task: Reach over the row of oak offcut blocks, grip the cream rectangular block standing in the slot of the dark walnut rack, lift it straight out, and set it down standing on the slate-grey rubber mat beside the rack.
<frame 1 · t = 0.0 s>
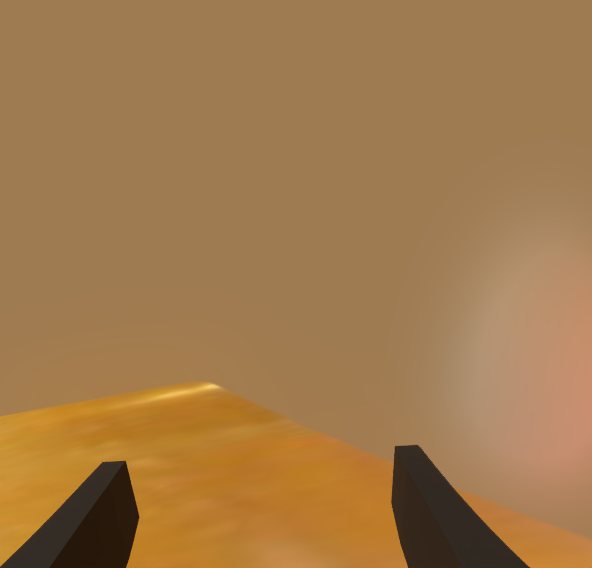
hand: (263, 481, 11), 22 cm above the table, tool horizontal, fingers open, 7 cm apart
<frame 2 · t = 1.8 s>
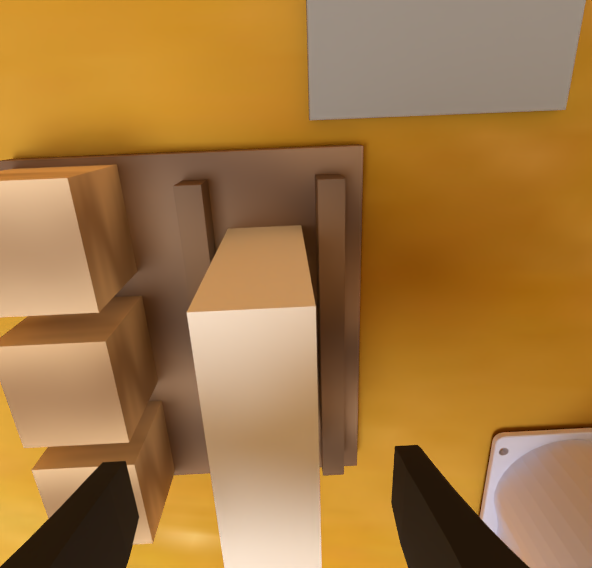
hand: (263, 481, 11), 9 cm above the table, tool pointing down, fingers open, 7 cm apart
cream rectangular block: (271, 334, 19), point 1 cm above the table, touching rack
offcut 1: (77, 222, 17), point 1 cm above the table, touching rack
rack: (209, 327, 20), on the table
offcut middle: (105, 342, 19), point 1 cm above the table, touching rack
offcut 2: (128, 439, 21), point 1 cm above the table, touching rack
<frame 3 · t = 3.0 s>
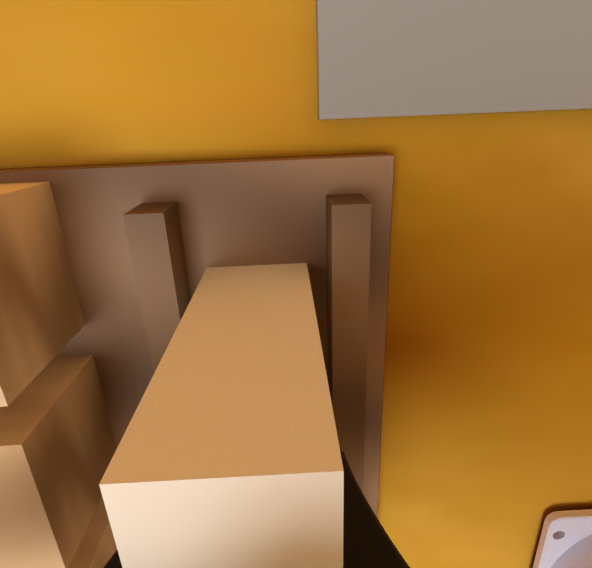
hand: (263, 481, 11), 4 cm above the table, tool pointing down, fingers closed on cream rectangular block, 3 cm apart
cream rectangular block: (267, 402, 14), point 1 cm above the table, touching gripper, rack
rack: (186, 389, 15), on the table
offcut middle: (47, 413, 14), point 1 cm above the table, touching rack
offcut 2: (84, 528, 16), point 1 cm above the table, touching rack
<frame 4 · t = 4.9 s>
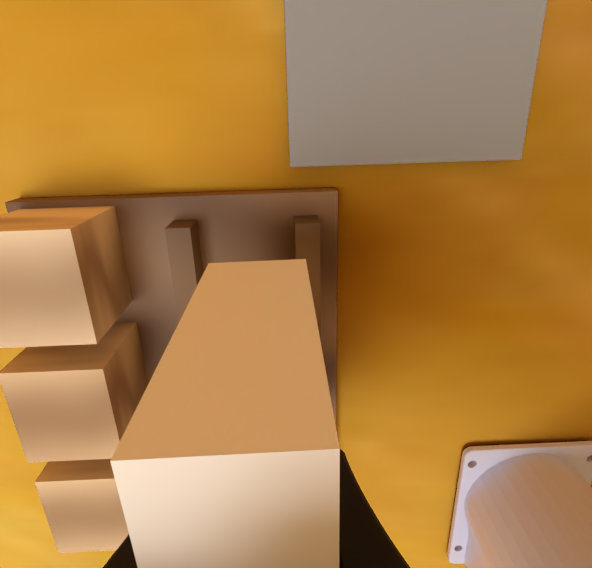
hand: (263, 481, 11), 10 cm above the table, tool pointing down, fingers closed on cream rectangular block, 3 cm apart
cream rectangular block: (267, 395, 15), point 7 cm above the table, touching gripper
offcut 1: (78, 257, 18), point 1 cm above the table, touching rack
mat: (412, 16, 16), on the table
rack: (198, 349, 22), on the table
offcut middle: (103, 363, 21), point 1 cm above the table, touching rack
offcut 2: (123, 451, 23), point 1 cm above the table, touching rack
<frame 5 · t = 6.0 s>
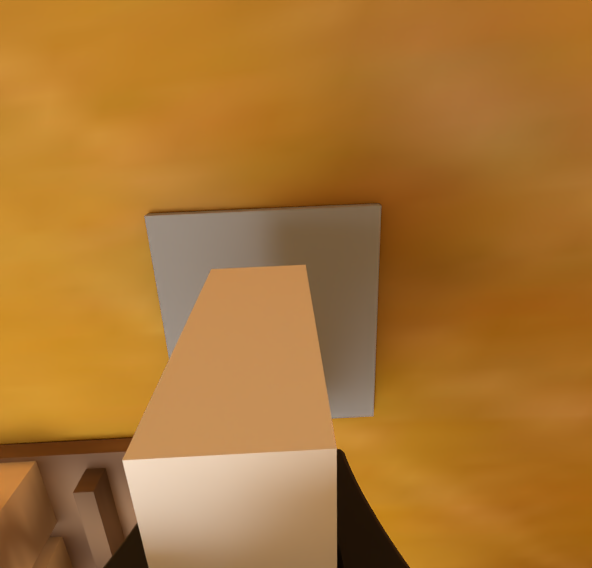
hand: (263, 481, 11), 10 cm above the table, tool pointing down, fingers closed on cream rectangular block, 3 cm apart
cream rectangular block: (268, 397, 15), point 5 cm above the table, touching gripper
offcut 1: (9, 495, 22), point 1 cm above the table, touching rack
mat: (271, 322, 20), on the table
rack: (120, 544, 25), on the table
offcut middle: (36, 565, 24), point 1 cm above the table, touching rack
when the fingers open (5 cm above the table, at t = 7.0 s): cream rectangular block stays where it is, resting on mat.
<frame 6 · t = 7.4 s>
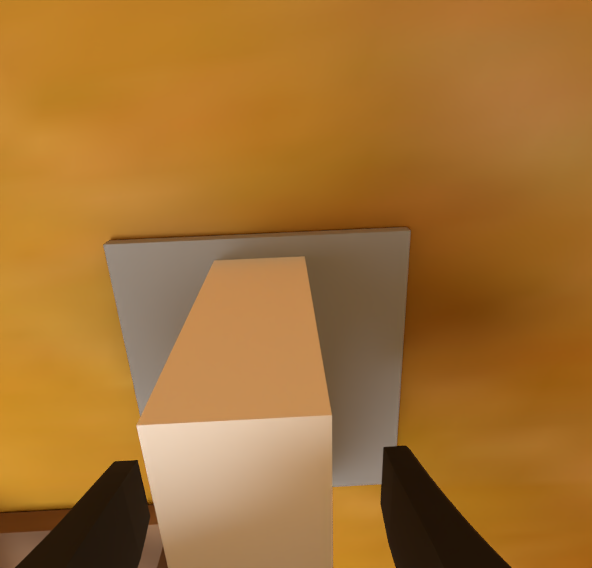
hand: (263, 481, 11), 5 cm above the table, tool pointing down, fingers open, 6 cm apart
cream rectangular block: (268, 384, 16), resting on mat
mat: (268, 372, 16), on the table
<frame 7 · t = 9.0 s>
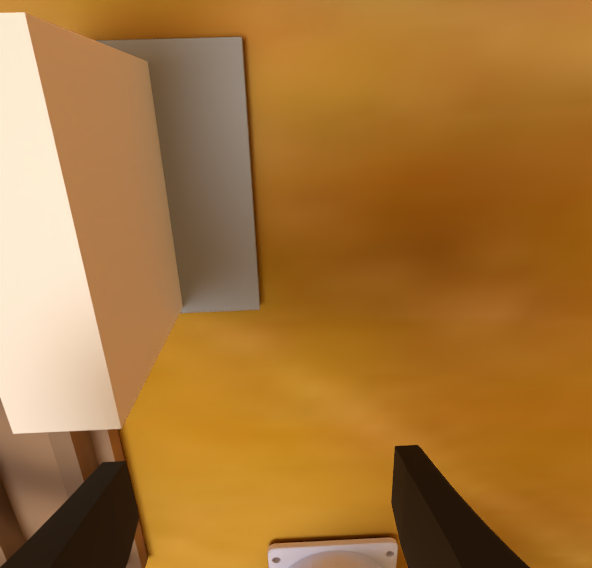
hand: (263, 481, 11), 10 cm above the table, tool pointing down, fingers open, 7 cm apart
cream rectangular block: (130, 198, 17), resting on mat
mat: (133, 191, 18), on the table
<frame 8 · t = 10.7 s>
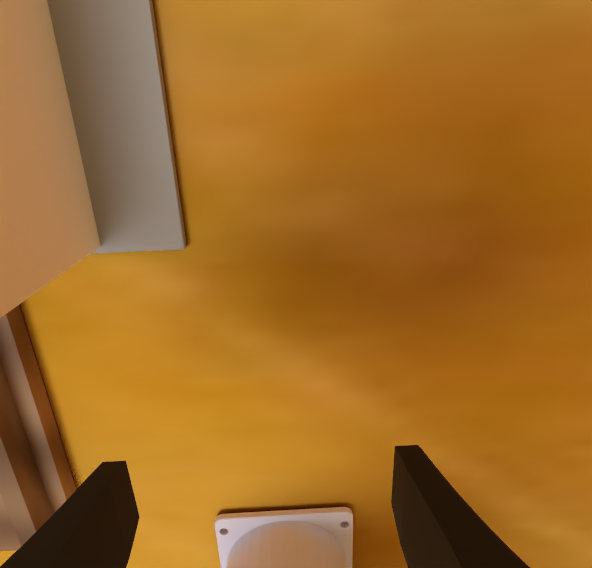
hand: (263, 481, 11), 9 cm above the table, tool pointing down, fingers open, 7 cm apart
cream rectangular block: (33, 122, 16), resting on mat
mat: (39, 116, 16), on the table
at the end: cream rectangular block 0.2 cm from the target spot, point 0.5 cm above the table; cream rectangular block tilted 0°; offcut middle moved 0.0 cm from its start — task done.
